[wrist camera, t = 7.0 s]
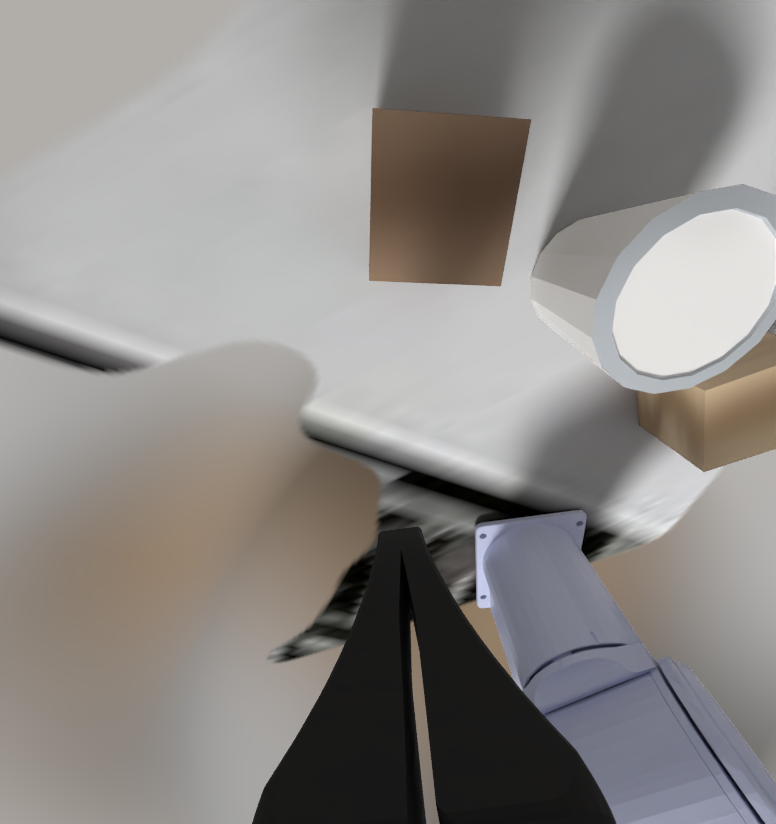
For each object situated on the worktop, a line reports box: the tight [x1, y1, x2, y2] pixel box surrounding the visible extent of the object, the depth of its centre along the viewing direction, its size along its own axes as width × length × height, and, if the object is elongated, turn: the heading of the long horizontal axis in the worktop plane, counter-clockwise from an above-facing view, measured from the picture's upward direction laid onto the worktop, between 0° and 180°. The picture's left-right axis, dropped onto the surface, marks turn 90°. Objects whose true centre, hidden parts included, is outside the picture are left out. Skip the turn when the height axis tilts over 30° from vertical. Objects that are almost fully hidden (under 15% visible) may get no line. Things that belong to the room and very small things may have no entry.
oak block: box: [636, 333, 776, 472], centre depth 19 cm, size 5×5×5 cm
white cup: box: [530, 184, 776, 394], centre depth 15 cm, size 7×7×7 cm
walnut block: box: [369, 108, 531, 286], centre depth 14 cm, size 5×5×5 cm
